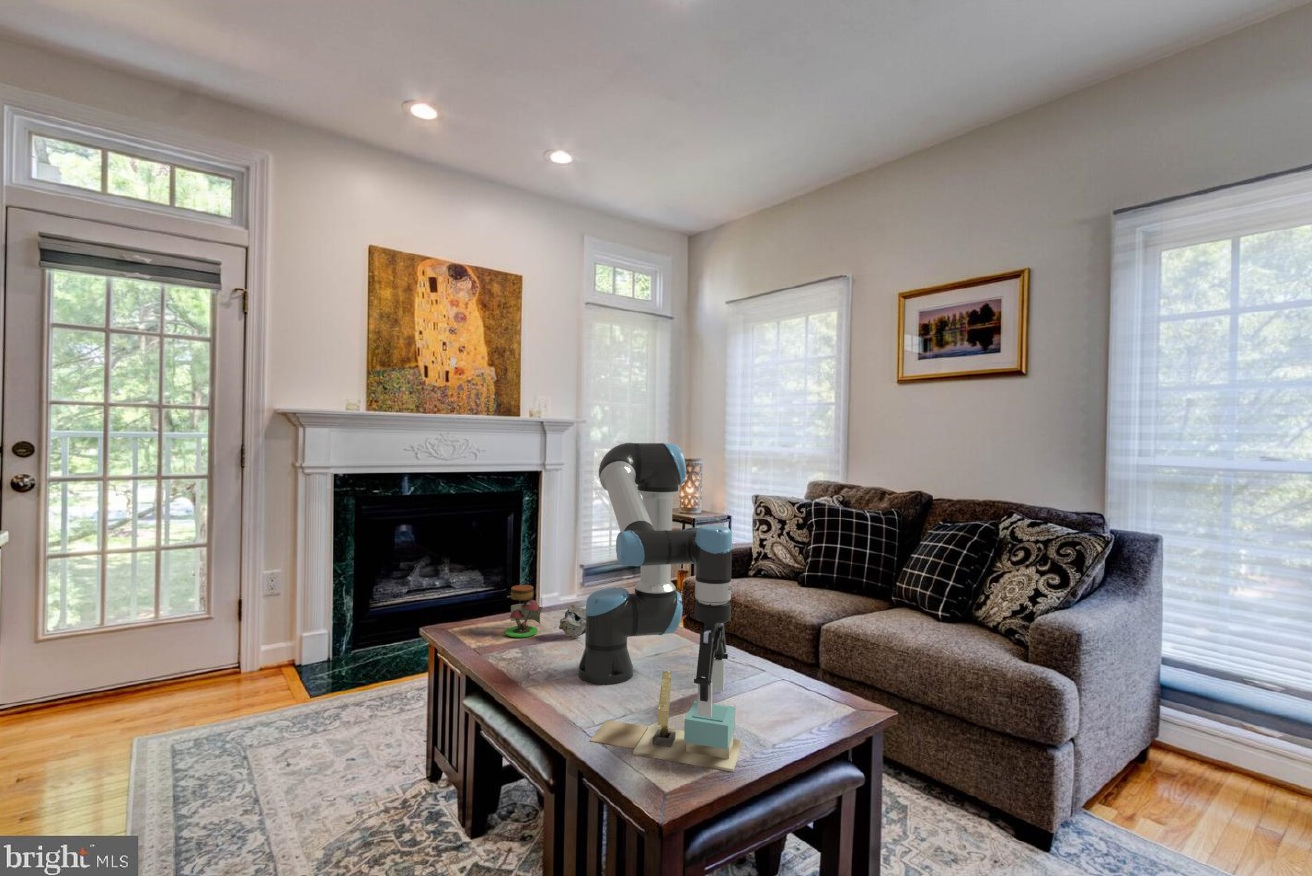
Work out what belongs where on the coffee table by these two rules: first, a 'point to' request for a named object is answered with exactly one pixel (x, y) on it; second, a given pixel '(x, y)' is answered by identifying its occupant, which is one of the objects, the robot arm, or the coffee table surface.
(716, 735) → the cover
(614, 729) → the pad
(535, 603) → the mushroom figurine
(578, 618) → the mineral specimen
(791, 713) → the coffee table surface
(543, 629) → the coffee table surface
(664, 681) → the t key
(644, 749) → the housing
